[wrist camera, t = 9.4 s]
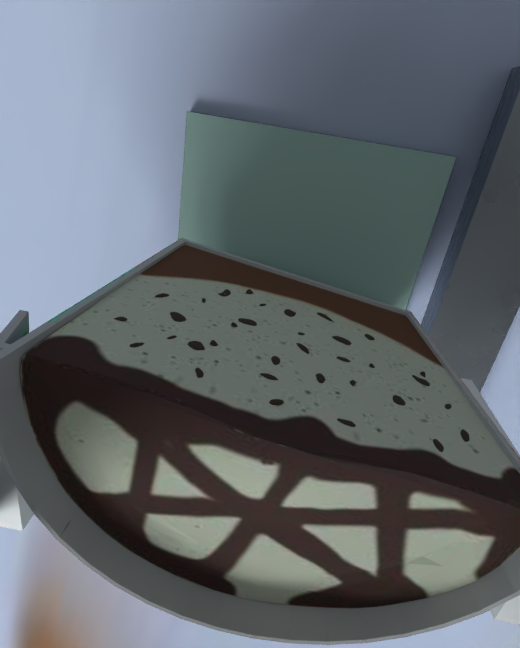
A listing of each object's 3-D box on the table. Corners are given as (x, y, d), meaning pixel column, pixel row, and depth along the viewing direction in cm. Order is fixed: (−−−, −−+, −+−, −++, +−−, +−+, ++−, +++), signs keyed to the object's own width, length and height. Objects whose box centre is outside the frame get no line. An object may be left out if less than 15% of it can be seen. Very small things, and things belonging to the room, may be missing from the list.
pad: (452, 156, 16) (456, 157, 16) (349, 471, 23) (350, 477, 23) (189, 111, 16) (186, 111, 16) (166, 437, 23) (164, 443, 23)
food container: (119, 358, 19) (-45, 573, 10) (143, 225, 16) (-51, 358, 7) (381, 437, 20) (448, 708, 11) (445, 322, 17) (610, 555, 8)
